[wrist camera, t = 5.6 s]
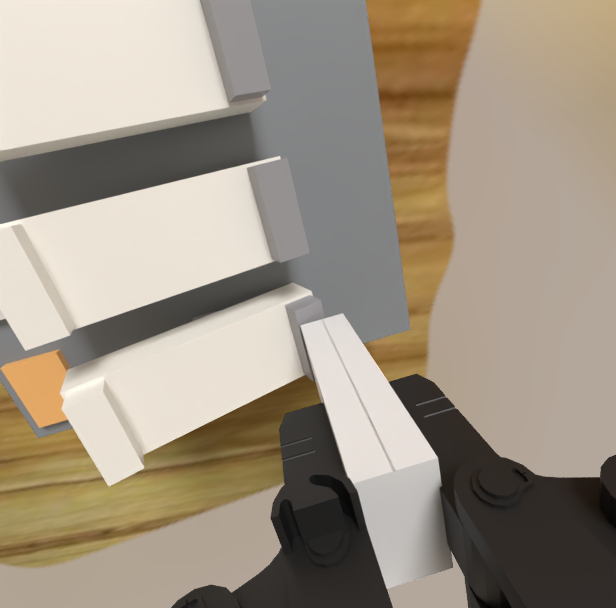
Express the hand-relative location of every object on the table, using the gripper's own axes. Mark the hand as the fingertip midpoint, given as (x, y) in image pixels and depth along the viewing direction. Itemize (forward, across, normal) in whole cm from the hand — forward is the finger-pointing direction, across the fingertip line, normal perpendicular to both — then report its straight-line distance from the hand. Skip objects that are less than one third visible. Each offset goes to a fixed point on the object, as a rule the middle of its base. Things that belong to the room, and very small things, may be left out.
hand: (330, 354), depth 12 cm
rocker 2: (+1, -4, +5) cm, 6 cm away
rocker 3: (+1, -4, 0) cm, 4 cm away
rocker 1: (+1, -4, +10) cm, 10 cm away
